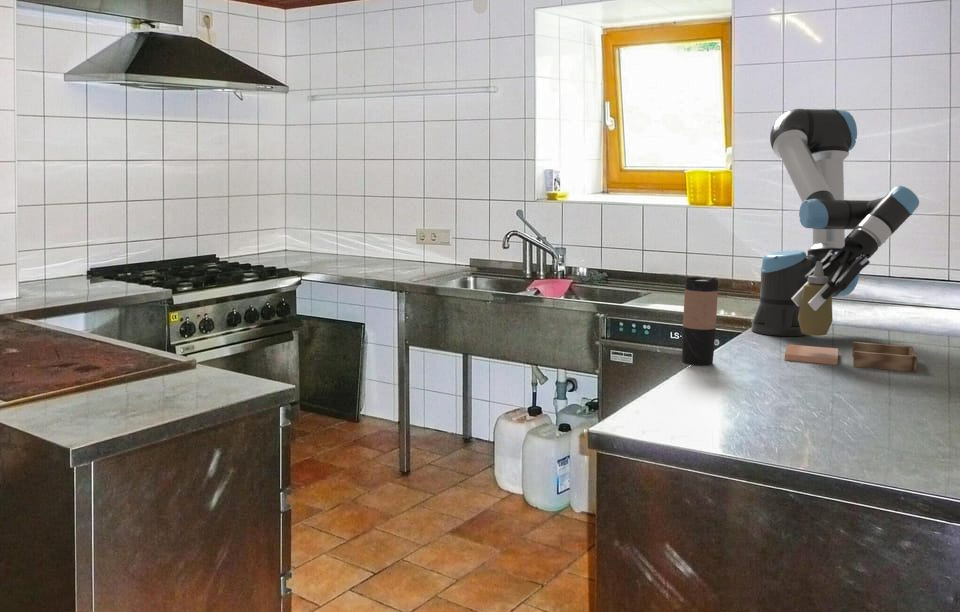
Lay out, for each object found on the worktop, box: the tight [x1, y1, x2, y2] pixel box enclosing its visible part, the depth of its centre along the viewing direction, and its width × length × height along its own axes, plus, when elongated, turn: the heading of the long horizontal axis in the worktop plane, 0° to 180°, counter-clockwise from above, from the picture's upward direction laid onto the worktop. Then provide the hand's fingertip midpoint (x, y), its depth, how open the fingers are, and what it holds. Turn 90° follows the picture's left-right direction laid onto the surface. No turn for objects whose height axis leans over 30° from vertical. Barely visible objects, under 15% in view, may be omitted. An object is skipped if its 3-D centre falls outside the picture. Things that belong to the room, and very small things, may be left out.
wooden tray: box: [852, 341, 918, 373], centre depth 217 cm, size 14×14×4 cm
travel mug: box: [681, 277, 719, 367], centre depth 212 cm, size 8×8×20 cm
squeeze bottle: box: [798, 261, 834, 337], centre depth 221 cm, size 8×8×18 cm
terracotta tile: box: [784, 344, 839, 366], centre depth 223 cm, size 12×14×2 cm
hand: (803, 304), depth 220 cm, fingers closed on squeeze bottle, 6 cm apart
